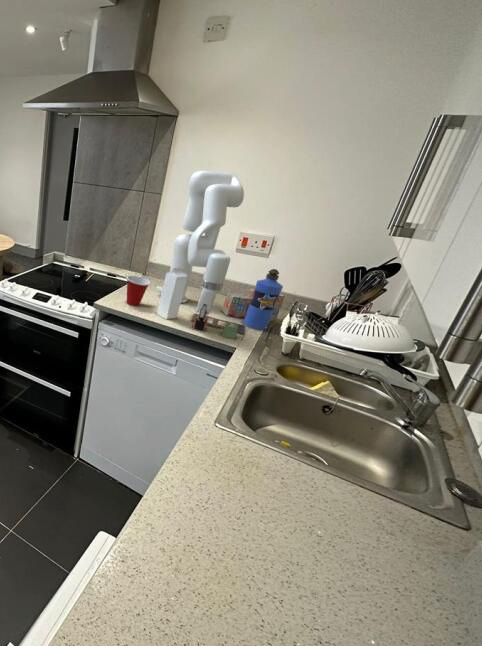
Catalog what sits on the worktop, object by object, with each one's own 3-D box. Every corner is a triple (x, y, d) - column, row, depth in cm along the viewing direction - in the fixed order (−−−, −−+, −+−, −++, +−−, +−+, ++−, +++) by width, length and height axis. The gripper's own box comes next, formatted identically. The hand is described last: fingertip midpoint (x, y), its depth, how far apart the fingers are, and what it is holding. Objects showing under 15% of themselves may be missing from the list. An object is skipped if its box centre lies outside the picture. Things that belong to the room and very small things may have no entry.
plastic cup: (139, 310, 175) (145, 284, 170) (117, 302, 181) (122, 278, 176) (149, 304, 183) (154, 280, 178) (128, 297, 189) (132, 274, 184)
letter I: (221, 335, 156) (225, 325, 154) (222, 331, 159) (226, 321, 157) (234, 338, 154) (237, 328, 152) (235, 335, 157) (238, 324, 155)
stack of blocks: (226, 316, 176) (235, 290, 172) (221, 311, 182) (229, 285, 177) (275, 321, 175) (285, 295, 170) (268, 316, 181) (278, 291, 176)
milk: (176, 318, 170) (190, 269, 161) (166, 319, 167) (179, 269, 158) (166, 312, 175) (179, 264, 166) (156, 313, 172) (168, 265, 163)
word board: (190, 321, 167) (191, 319, 167) (194, 314, 175) (194, 313, 175) (243, 334, 158) (243, 333, 158) (244, 326, 166) (244, 325, 166)
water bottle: (269, 331, 163) (291, 274, 153) (245, 327, 165) (265, 270, 155) (263, 323, 172) (284, 268, 162) (240, 319, 174) (259, 265, 164)
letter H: (192, 327, 161) (195, 317, 159) (194, 324, 164) (197, 314, 162) (204, 330, 159) (207, 320, 157) (205, 327, 162) (208, 317, 160)
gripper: (204, 278, 162) (192, 318, 170) (198, 288, 149) (186, 331, 156) (224, 282, 159) (211, 323, 166) (220, 293, 146) (206, 336, 153)
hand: (199, 326), depth 161 cm, fingers closed on letter H, 4 cm apart
